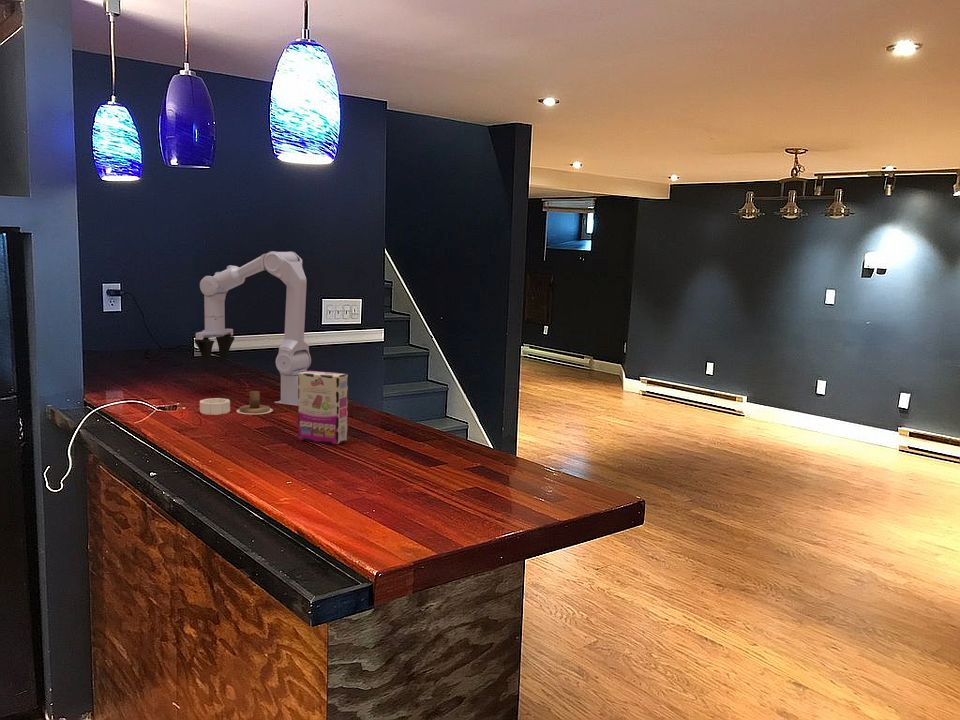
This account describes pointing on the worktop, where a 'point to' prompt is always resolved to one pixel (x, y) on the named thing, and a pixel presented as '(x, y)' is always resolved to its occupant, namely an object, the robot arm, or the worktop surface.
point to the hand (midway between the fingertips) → (215, 361)
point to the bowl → (214, 406)
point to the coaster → (256, 413)
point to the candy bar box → (322, 407)
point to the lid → (254, 404)
